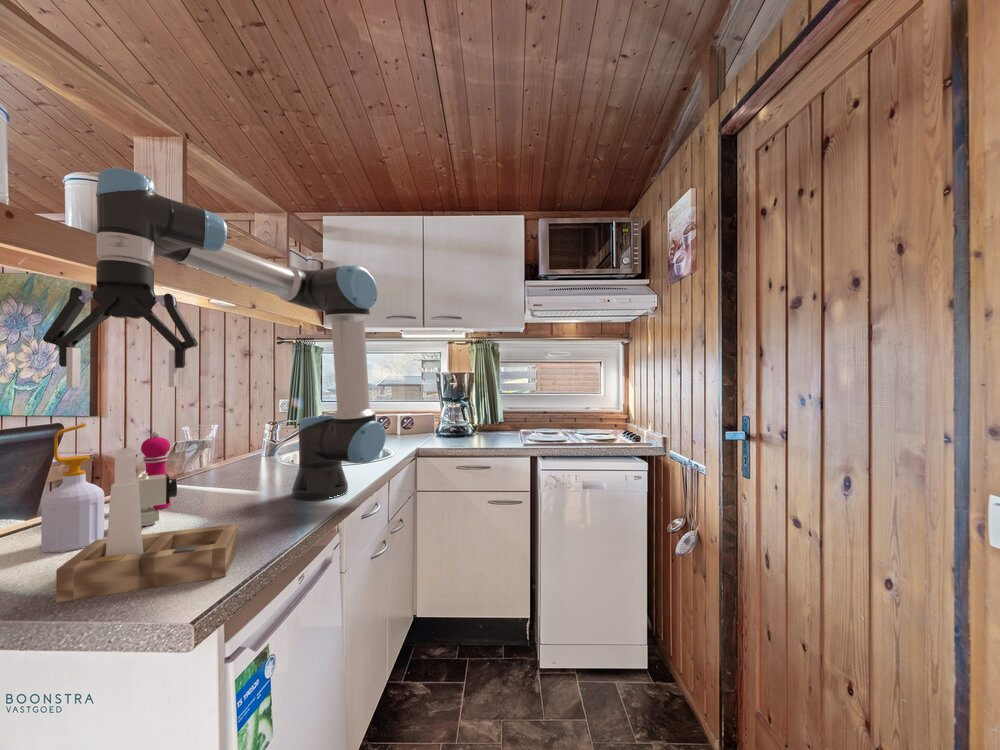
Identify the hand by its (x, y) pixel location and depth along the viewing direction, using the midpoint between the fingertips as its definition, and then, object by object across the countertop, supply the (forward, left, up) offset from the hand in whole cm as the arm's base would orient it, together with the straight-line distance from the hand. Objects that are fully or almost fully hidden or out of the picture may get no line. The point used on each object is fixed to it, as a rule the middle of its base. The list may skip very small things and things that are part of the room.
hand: (125, 387), depth 74 cm
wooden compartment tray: (-5, 0, -33) cm, 33 cm away
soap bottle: (+15, -22, -33) cm, 42 cm away
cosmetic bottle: (0, 0, -33) cm, 33 cm away
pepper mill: (+8, -46, -33) cm, 57 cm away
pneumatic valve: (+6, -31, -33) cm, 45 cm away
